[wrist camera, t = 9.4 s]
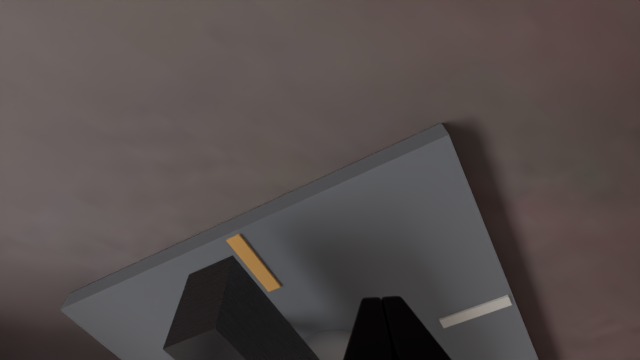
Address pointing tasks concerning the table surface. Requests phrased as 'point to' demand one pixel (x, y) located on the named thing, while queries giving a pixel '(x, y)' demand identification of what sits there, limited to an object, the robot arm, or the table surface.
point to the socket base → (337, 261)
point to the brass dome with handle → (230, 320)
